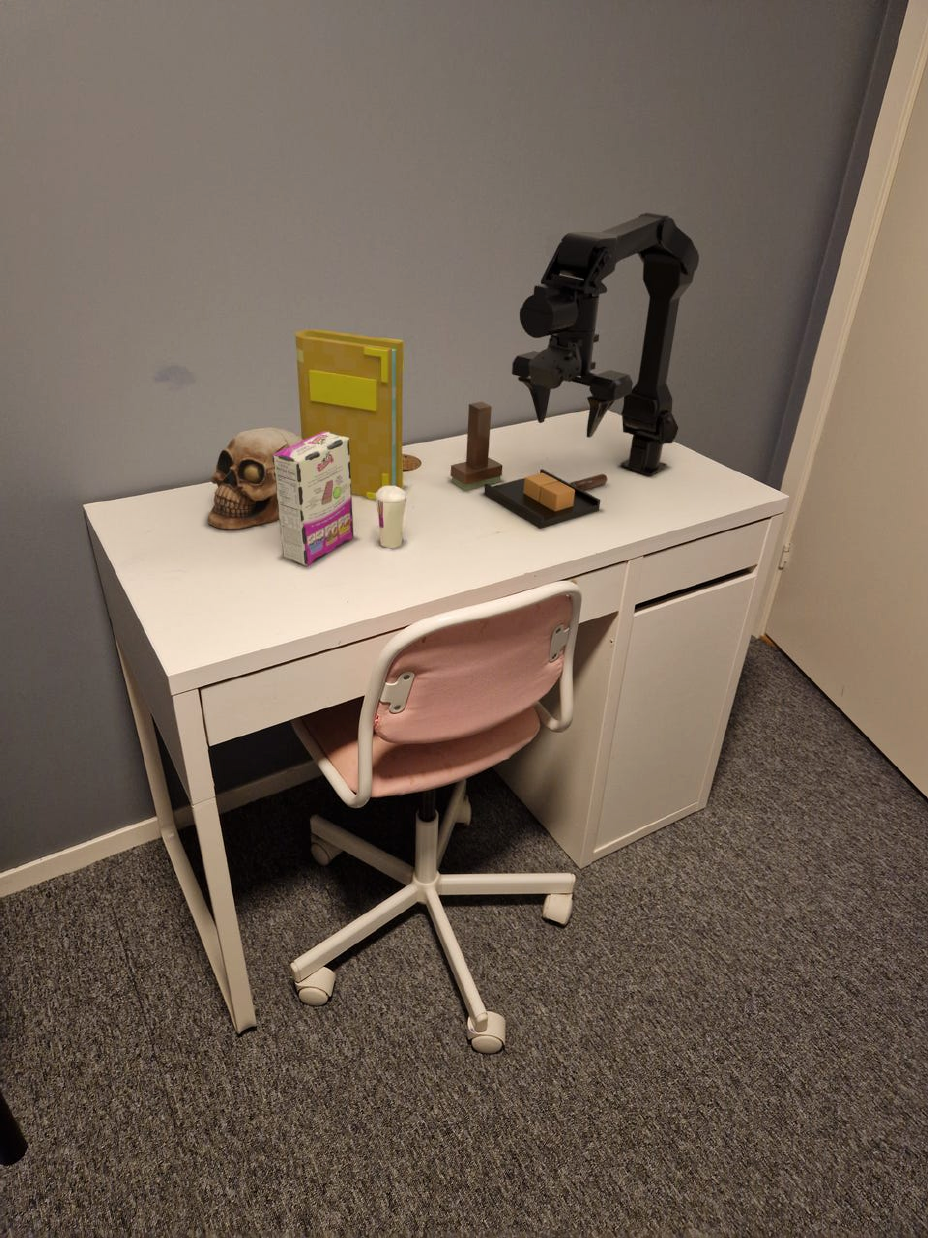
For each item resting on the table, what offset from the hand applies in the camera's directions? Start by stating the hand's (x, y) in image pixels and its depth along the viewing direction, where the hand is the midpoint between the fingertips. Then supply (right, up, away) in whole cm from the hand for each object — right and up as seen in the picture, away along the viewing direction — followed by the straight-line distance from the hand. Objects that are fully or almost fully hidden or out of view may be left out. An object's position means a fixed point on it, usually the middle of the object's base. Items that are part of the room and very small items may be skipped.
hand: (564, 429), depth 134 cm
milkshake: (-27, -18, -4) cm, 33 cm away
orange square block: (-1, -11, +8) cm, 13 cm away
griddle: (+1, -9, +13) cm, 16 cm away
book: (-36, -7, +13) cm, 39 cm away
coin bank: (-49, -12, +5) cm, 51 cm away
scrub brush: (-14, -6, +17) cm, 23 cm away
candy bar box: (-38, -19, -6) cm, 43 cm away
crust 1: (-3, -9, +11) cm, 14 cm away
